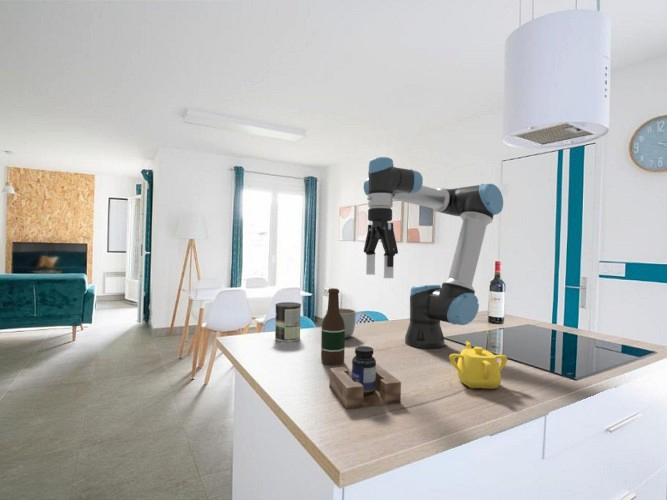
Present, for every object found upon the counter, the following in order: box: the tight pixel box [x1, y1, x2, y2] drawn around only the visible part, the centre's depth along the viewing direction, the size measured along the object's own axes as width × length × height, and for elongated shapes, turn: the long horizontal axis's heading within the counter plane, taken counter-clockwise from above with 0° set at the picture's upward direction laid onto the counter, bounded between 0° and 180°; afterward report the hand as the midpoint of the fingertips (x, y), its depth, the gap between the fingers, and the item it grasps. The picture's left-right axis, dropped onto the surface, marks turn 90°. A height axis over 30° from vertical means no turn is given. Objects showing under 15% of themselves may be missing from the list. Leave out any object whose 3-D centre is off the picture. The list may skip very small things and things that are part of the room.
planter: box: [325, 307, 357, 339], centre depth 153 cm, size 12×12×11 cm
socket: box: [329, 363, 402, 410], centre depth 94 cm, size 14×14×5 cm
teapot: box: [449, 340, 508, 390], centre depth 103 cm, size 14×13×10 cm
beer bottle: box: [320, 288, 346, 366], centre depth 120 cm, size 8×8×24 cm
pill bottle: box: [351, 345, 377, 395], centre depth 94 cm, size 6×6×11 cm
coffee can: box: [274, 301, 302, 343], centre depth 148 cm, size 10×10×14 cm
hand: (379, 276), depth 114 cm, fingers open, 13 cm apart
